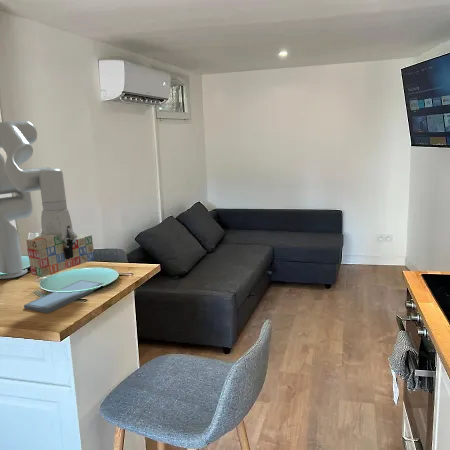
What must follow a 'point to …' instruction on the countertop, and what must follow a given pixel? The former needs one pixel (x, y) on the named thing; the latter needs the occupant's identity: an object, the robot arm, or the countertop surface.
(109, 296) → the countertop surface
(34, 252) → the stack of blocks
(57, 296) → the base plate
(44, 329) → the countertop surface
